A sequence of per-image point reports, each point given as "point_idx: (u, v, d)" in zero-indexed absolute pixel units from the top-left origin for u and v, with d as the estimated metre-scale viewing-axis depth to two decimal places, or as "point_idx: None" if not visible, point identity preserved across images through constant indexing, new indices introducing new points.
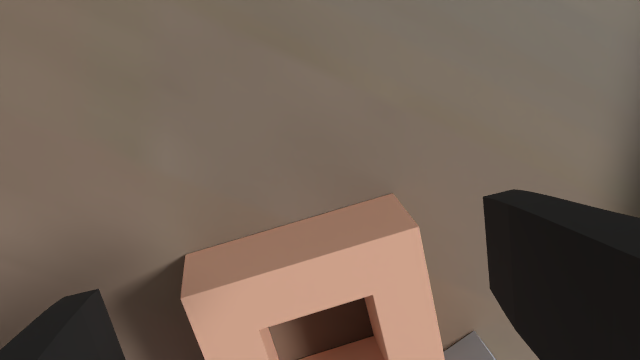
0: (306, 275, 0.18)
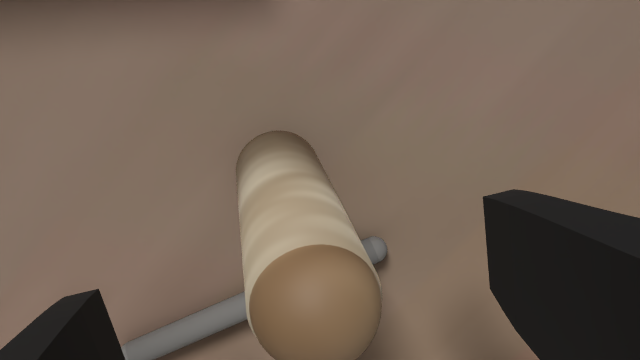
0: None
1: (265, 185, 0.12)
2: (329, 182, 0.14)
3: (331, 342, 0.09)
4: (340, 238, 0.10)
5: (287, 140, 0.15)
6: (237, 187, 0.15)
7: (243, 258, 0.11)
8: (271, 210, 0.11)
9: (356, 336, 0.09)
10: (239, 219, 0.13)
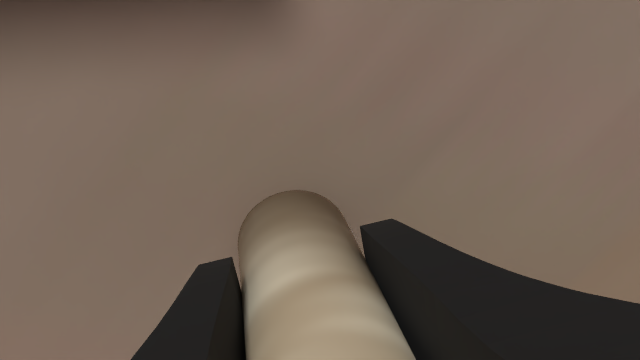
0: None
1: (284, 296, 0.08)
2: (373, 279, 0.09)
3: None
4: None
5: (308, 207, 0.11)
6: (240, 276, 0.11)
7: None
8: (298, 356, 0.07)
9: None
10: (244, 337, 0.09)
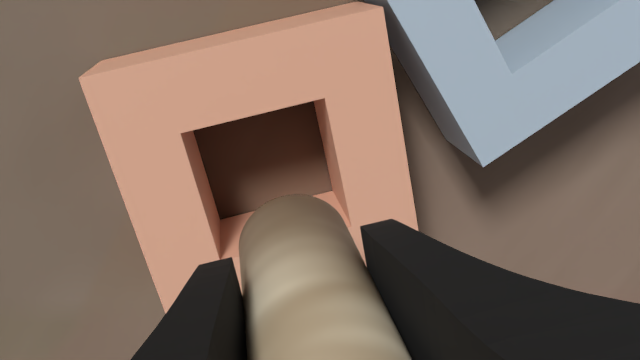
0: (149, 212, 0.16)
1: (283, 308, 0.08)
2: (372, 284, 0.09)
3: None
4: None
5: (306, 212, 0.11)
6: (241, 284, 0.11)
7: None
8: None
9: None
10: None
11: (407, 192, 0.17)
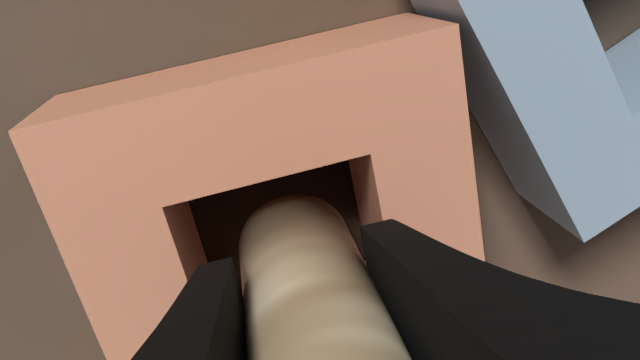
0: (118, 316, 0.11)
1: (283, 308, 0.08)
2: (372, 284, 0.09)
3: None
4: None
5: (306, 211, 0.11)
6: None
7: None
8: None
9: None
10: None
11: None
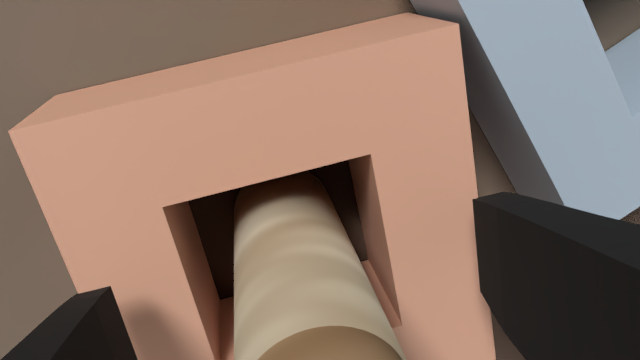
0: None
1: (262, 237, 0.10)
2: (341, 227, 0.11)
3: None
4: (354, 314, 0.07)
5: (290, 176, 0.13)
6: None
7: (234, 337, 0.09)
8: (268, 272, 0.09)
9: None
10: None
11: None
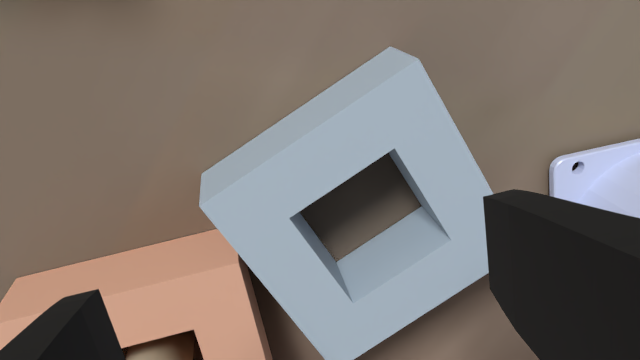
0: None
1: None
2: None
3: None
4: None
5: None
6: None
7: None
8: None
9: None
10: None
11: None
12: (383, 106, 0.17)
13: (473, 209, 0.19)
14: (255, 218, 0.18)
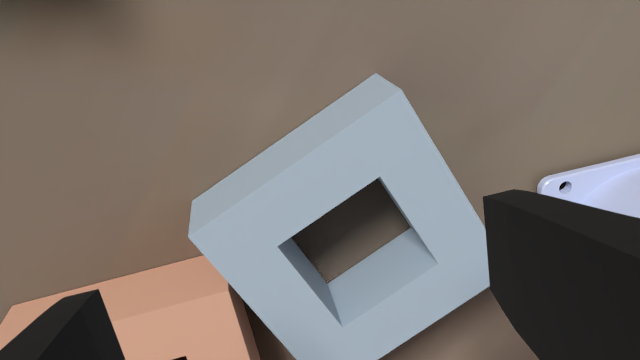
0: None
1: None
2: None
3: None
4: None
5: None
6: None
7: None
8: None
9: None
10: None
11: None
12: (367, 136, 0.18)
13: (460, 234, 0.19)
14: (244, 247, 0.18)
